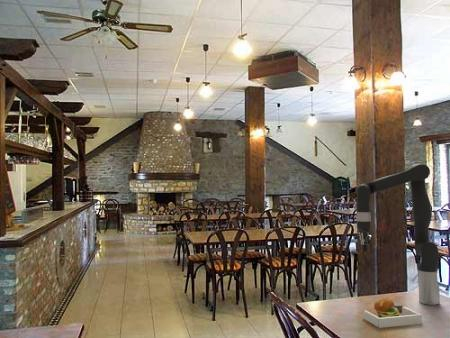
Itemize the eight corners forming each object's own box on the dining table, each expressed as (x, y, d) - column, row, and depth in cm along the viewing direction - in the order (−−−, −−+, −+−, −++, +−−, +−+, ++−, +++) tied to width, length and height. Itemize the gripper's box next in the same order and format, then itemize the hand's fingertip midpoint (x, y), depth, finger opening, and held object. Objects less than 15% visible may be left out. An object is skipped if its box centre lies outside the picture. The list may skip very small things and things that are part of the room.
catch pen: (404, 314, 190) (403, 306, 190) (422, 323, 178) (421, 314, 178) (363, 318, 186) (363, 310, 186) (379, 327, 173) (379, 318, 174)
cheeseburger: (404, 321, 181) (398, 300, 182) (381, 326, 182) (375, 305, 183) (396, 313, 191) (391, 293, 192) (375, 318, 192) (369, 298, 193)
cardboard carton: (394, 307, 202) (394, 301, 202) (403, 311, 195) (403, 305, 195) (387, 307, 201) (387, 302, 201) (396, 312, 194) (396, 306, 195)
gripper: (376, 221, 211) (377, 253, 210) (363, 219, 224) (363, 249, 223) (364, 221, 209) (365, 253, 209) (351, 219, 222) (352, 249, 222)
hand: (364, 251), depth 216 cm, fingers closed
